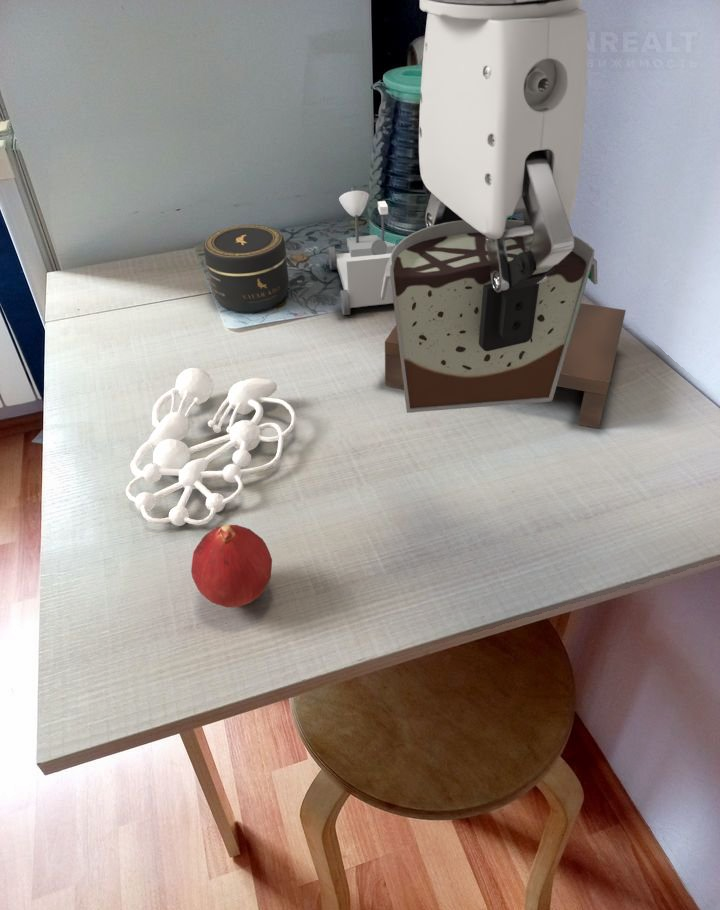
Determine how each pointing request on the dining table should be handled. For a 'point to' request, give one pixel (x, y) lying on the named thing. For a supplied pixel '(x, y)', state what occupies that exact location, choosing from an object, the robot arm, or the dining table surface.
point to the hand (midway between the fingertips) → (475, 312)
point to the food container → (476, 321)
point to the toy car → (362, 259)
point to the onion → (231, 566)
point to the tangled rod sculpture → (176, 455)
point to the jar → (247, 267)
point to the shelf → (581, 366)
